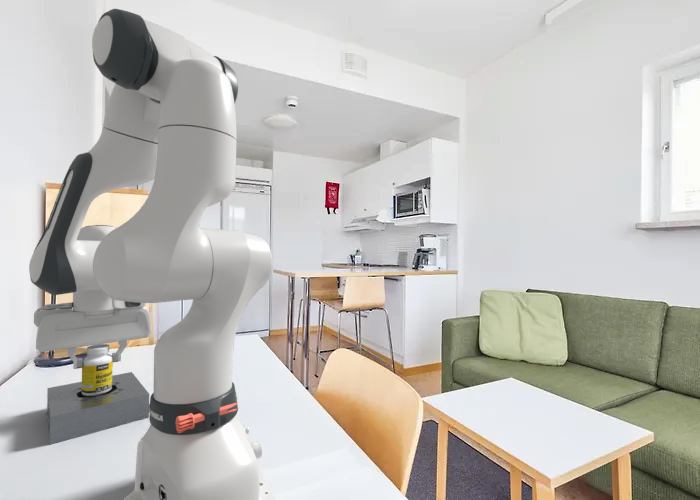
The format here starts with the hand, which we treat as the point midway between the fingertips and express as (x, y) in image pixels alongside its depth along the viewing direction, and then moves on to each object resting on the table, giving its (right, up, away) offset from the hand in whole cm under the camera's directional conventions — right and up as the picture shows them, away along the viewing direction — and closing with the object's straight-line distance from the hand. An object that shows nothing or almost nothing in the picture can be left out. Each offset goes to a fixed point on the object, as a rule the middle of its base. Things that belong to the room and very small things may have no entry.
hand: (97, 364), depth 76 cm
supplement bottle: (0, -6, 0) cm, 6 cm away
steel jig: (0, -11, 0) cm, 11 cm away
